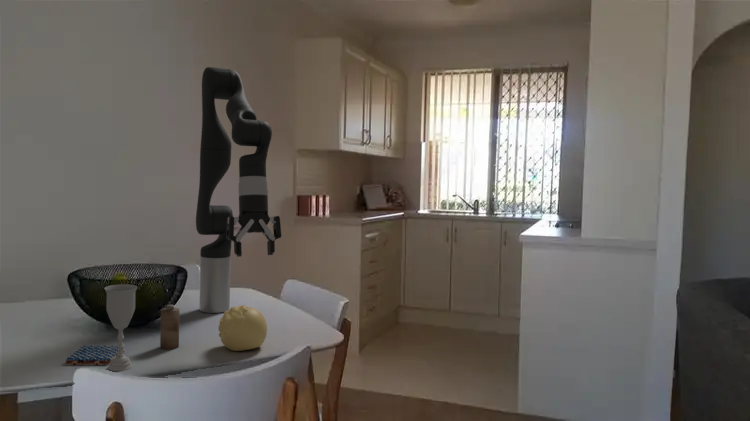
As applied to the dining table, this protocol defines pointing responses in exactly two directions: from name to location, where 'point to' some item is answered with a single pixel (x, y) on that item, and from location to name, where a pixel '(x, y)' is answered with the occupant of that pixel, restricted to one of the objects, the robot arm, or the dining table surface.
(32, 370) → the dining table surface
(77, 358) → the woven mat
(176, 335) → the walnut pepper mill
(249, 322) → the sculpture
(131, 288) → the chalice
